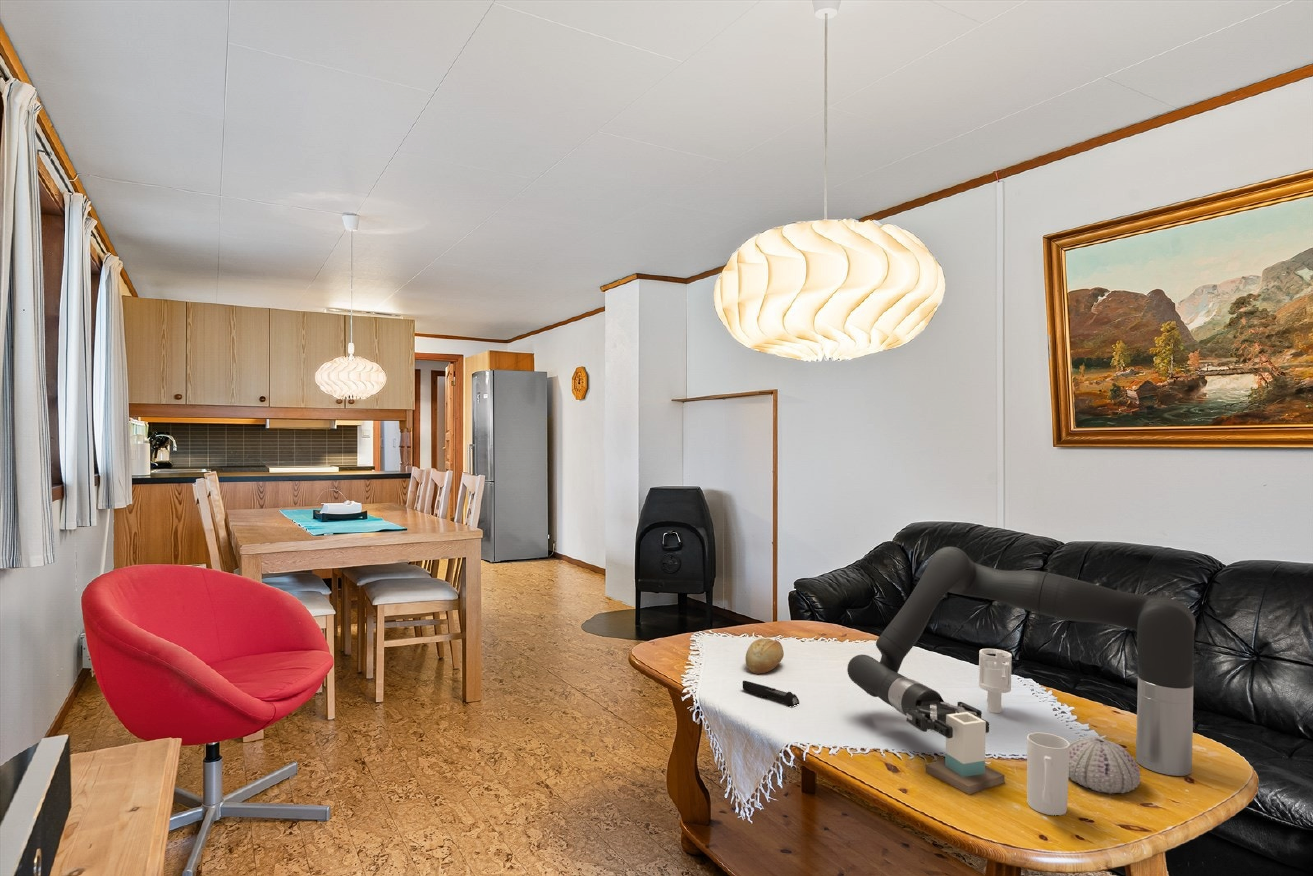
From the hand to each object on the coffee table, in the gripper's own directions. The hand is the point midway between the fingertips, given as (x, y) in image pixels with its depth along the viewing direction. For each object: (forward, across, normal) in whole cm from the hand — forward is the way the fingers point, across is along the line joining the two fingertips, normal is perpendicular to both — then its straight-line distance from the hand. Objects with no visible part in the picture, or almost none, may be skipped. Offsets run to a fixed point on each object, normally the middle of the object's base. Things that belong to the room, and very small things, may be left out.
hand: (969, 730), depth 143 cm
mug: (+14, +5, +10) cm, 17 cm away
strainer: (-27, +31, +10) cm, 42 cm away
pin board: (-1, 0, +10) cm, 10 cm away
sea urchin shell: (+8, +24, +10) cm, 27 cm away
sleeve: (-1, 0, +8) cm, 8 cm away
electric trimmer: (-50, -17, +10) cm, 53 cm away
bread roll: (-71, -7, +10) cm, 72 cm away
